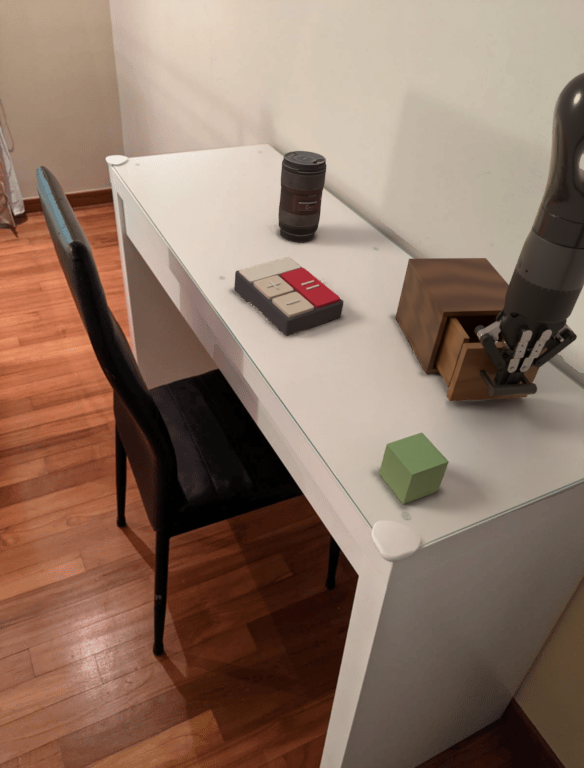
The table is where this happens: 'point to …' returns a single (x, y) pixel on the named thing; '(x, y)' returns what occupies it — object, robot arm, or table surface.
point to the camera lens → (301, 195)
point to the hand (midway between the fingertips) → (503, 389)
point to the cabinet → (445, 299)
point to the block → (413, 467)
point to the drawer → (475, 363)
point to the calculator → (288, 295)
